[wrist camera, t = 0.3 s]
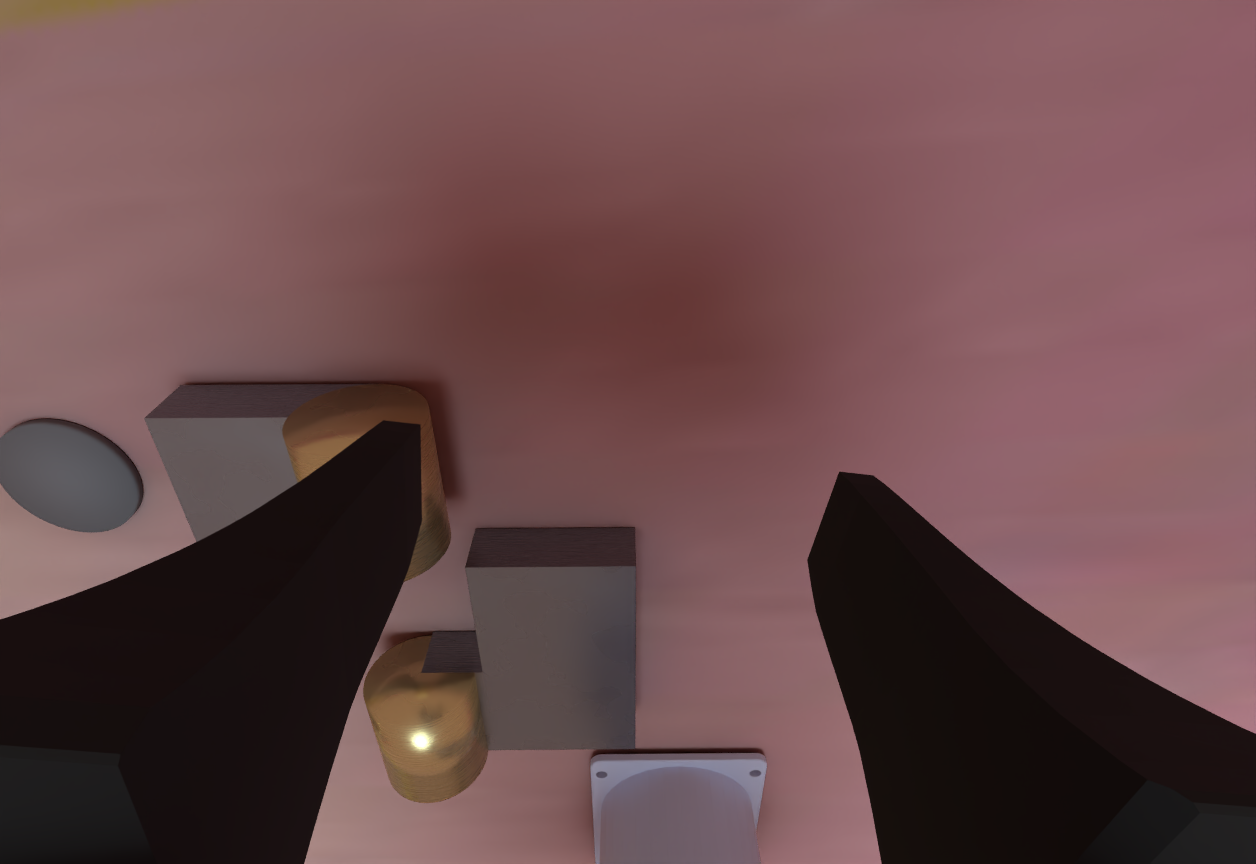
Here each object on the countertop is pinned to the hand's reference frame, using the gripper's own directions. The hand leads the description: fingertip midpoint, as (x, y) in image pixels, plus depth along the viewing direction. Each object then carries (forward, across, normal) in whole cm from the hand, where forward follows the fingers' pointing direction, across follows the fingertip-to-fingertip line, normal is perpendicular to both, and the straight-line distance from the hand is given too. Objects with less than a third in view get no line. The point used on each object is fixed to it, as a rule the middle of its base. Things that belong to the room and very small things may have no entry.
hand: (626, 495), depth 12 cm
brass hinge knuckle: (+10, +9, +9) cm, 16 cm away
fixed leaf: (+10, +3, +14) cm, 18 cm away
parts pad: (+10, +18, +9) cm, 22 cm away
